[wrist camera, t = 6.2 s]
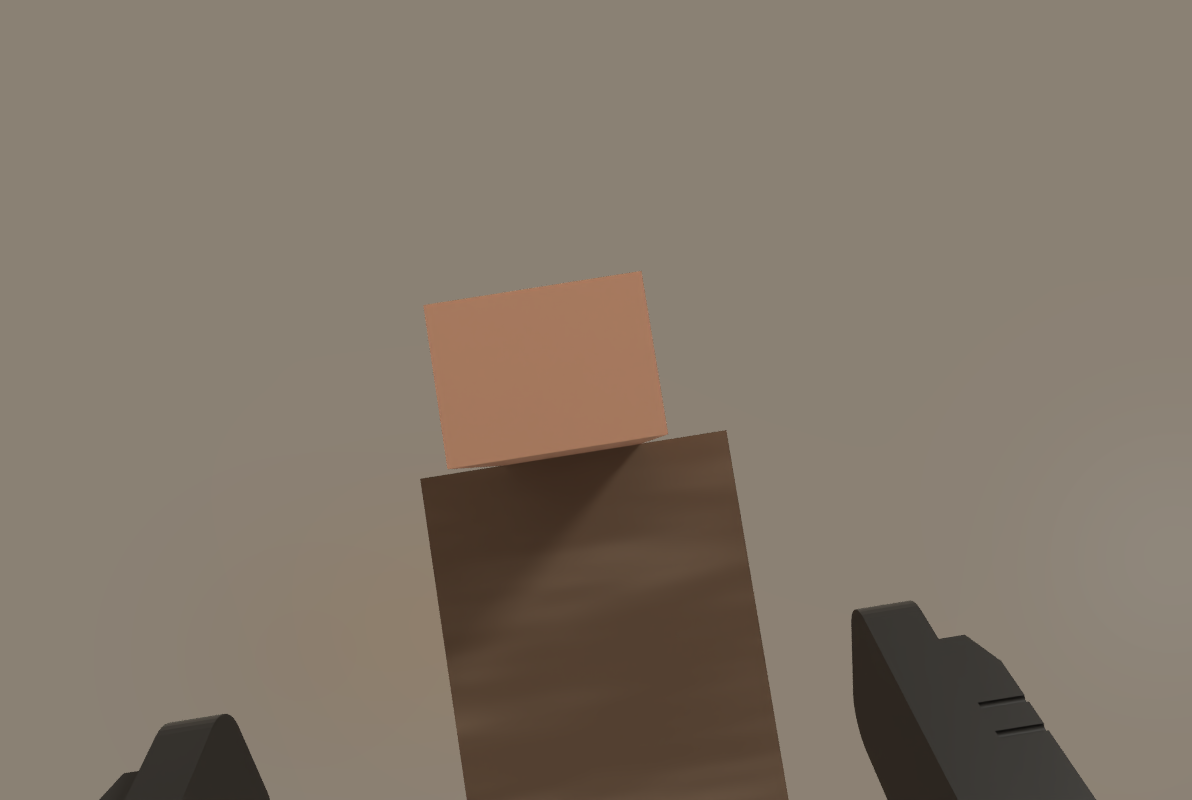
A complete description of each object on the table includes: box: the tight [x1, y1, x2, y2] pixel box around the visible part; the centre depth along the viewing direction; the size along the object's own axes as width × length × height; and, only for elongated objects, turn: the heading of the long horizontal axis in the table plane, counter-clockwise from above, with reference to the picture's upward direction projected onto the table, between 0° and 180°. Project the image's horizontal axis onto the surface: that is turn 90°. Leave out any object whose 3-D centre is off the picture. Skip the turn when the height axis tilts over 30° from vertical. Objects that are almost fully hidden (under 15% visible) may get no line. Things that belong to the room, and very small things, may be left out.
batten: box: [424, 271, 668, 469], centre depth 28 cm, size 24×4×3 cm, turn 0°
